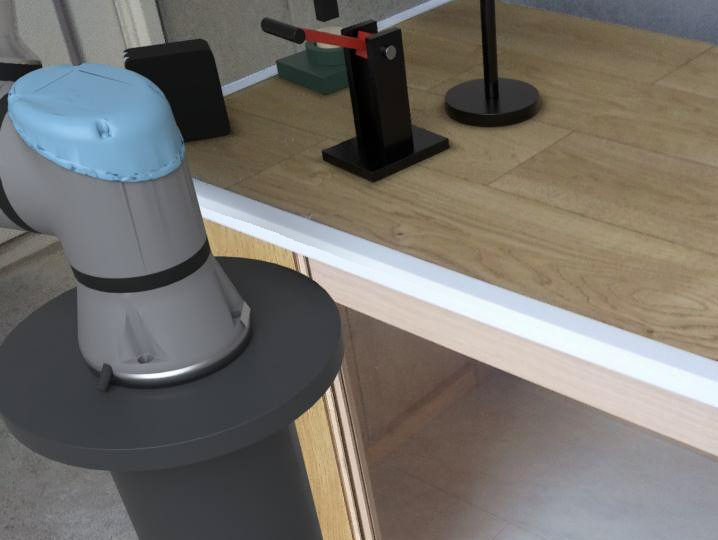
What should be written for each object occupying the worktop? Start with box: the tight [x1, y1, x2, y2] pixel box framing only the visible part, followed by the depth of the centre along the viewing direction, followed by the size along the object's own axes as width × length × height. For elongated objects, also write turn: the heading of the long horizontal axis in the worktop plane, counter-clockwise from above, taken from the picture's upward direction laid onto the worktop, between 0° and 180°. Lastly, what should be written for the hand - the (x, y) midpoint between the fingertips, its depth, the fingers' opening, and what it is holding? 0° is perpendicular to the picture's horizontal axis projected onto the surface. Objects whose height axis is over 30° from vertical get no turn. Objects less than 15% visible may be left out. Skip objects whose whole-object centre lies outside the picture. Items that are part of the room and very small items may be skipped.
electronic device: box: [121, 38, 232, 143], centre depth 118 cm, size 4×10×10 cm, turn 112°
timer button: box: [315, 25, 344, 48], centre depth 132 cm, size 4×4×2 cm
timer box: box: [275, 41, 349, 96], centre depth 134 cm, size 12×10×4 cm
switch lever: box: [260, 16, 373, 58], centre depth 104 cm, size 14×6×2 cm, turn 138°
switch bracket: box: [321, 18, 450, 183], centre depth 112 cm, size 12×9×14 cm
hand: (328, 18), depth 130 cm, fingers closed
